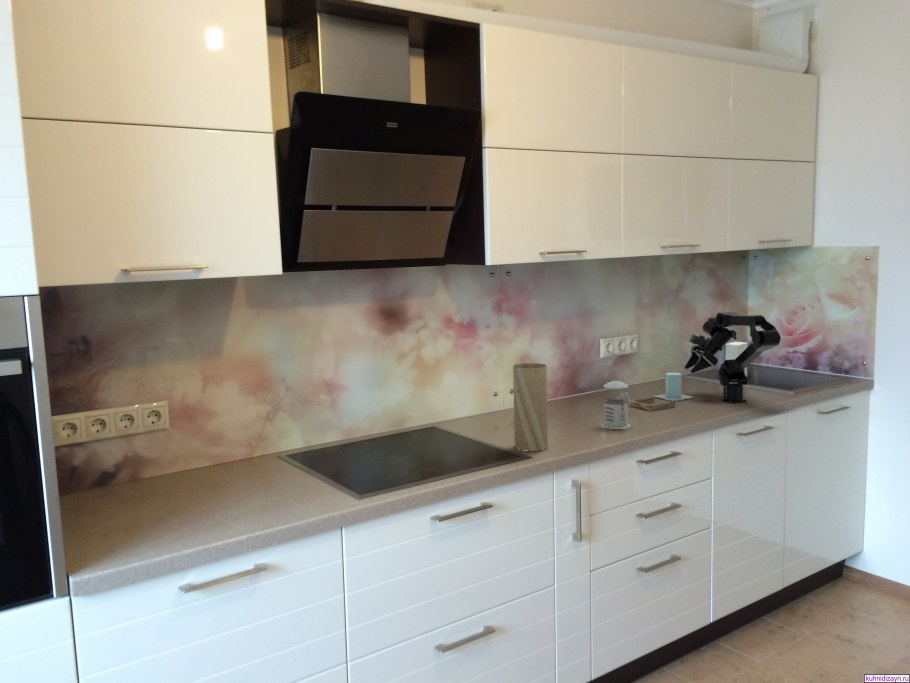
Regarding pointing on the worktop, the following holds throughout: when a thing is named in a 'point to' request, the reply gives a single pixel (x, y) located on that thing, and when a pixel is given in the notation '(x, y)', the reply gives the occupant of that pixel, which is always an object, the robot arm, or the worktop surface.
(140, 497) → the worktop surface
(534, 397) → the tube
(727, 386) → the robot arm
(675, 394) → the grey-teal block
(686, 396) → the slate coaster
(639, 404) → the walnut holder
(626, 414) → the french press
